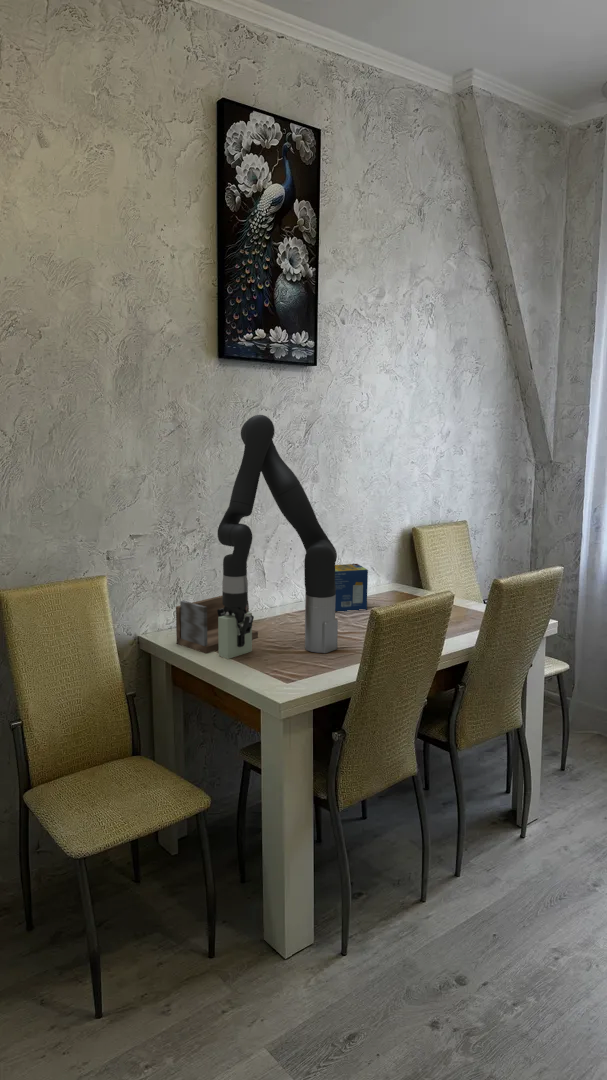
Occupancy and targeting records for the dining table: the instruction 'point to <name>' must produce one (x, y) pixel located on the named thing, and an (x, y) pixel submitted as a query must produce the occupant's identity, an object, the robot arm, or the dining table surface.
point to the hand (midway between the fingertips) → (235, 644)
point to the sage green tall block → (231, 638)
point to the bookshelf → (200, 624)
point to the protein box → (351, 587)
